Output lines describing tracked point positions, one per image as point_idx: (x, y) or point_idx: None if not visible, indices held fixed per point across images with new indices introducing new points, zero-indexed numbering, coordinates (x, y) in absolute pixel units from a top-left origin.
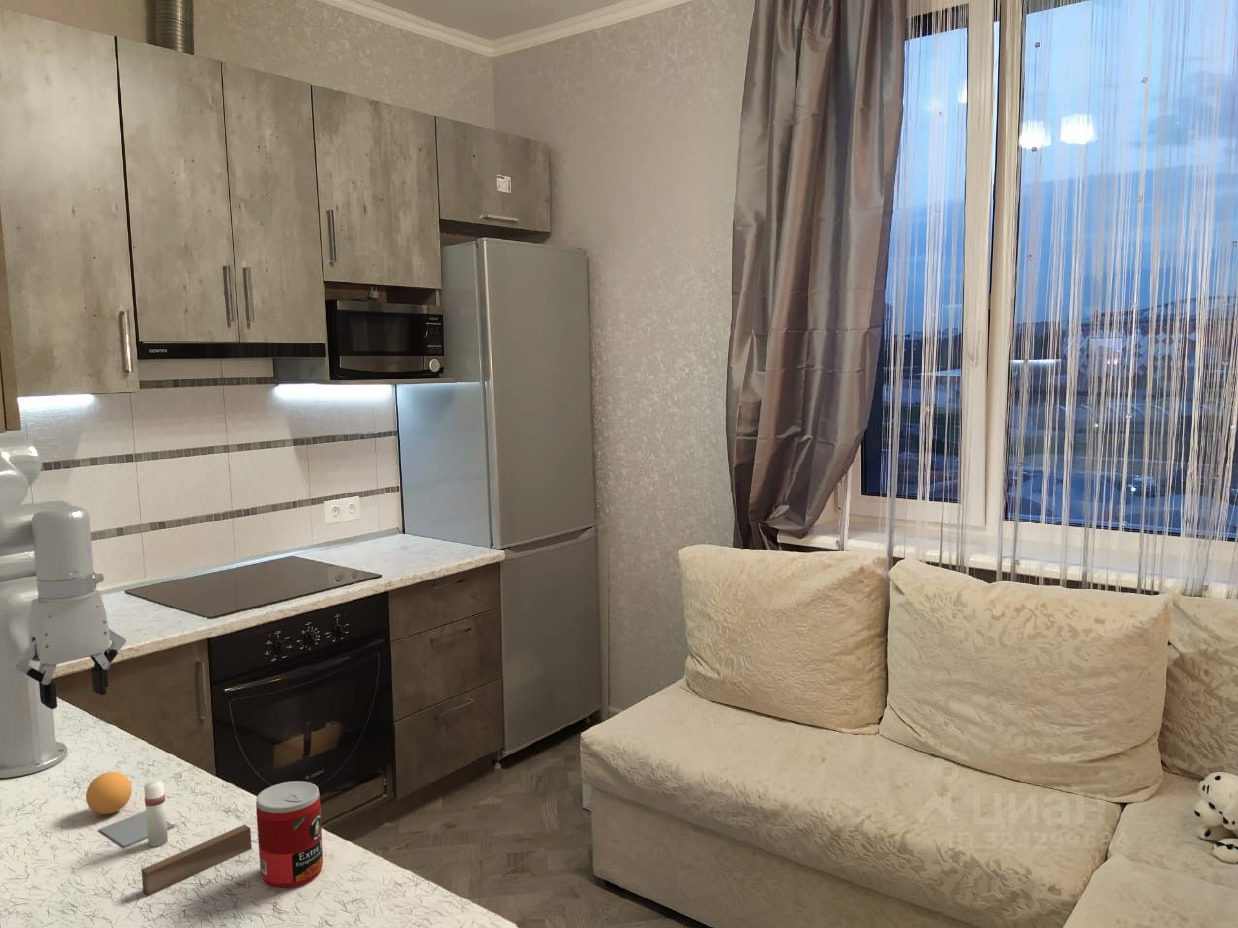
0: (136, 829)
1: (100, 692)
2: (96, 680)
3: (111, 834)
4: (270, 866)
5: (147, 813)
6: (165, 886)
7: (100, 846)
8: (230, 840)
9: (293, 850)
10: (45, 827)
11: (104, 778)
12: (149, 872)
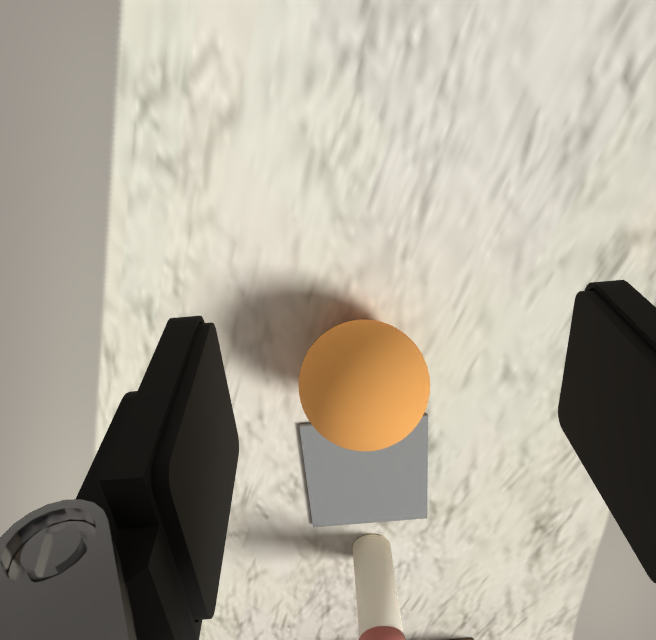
0: (362, 481)
1: (565, 426)
2: (618, 443)
3: (311, 469)
4: None
5: (358, 622)
6: None
7: (277, 490)
8: None
9: None
10: (194, 312)
11: (352, 438)
12: None
